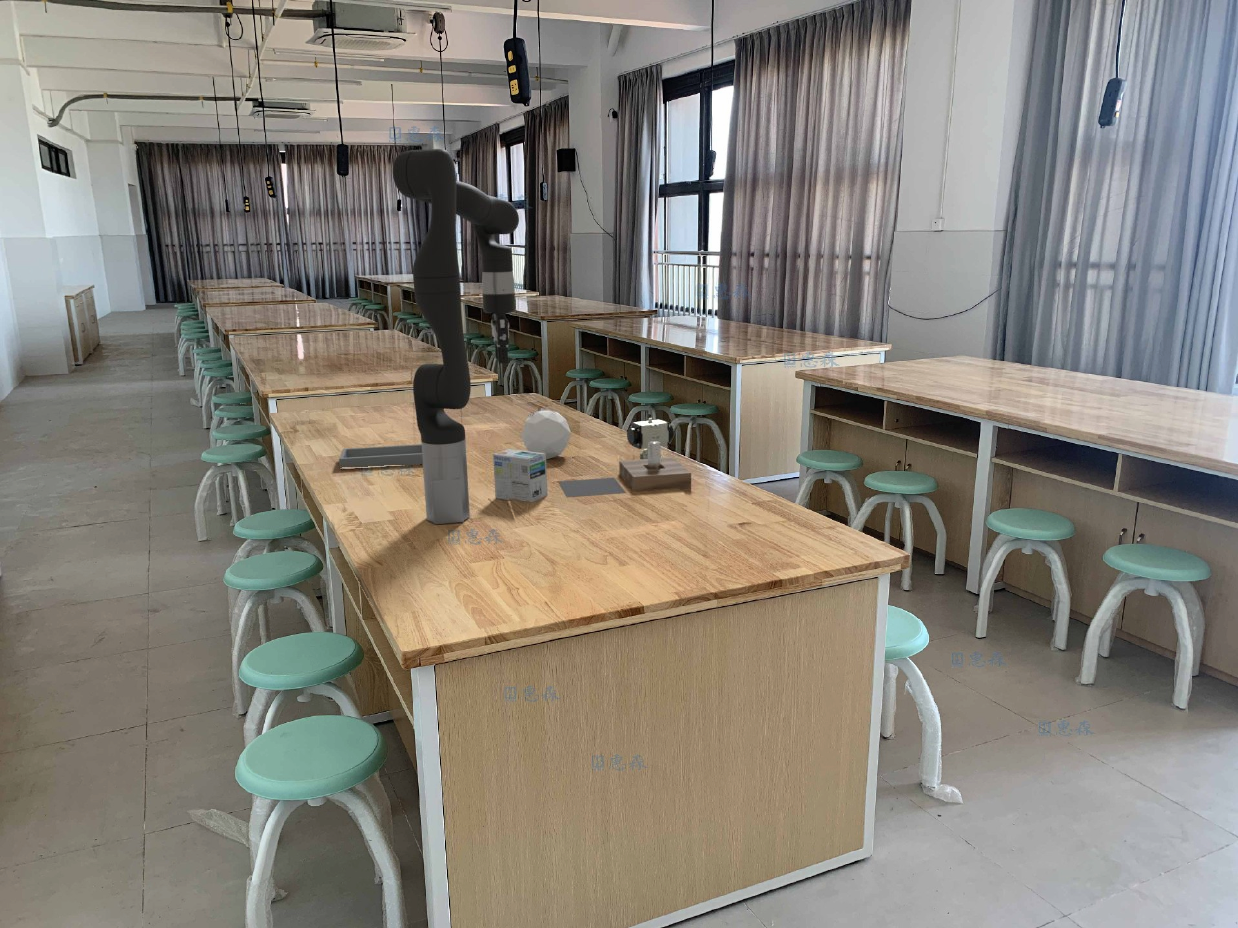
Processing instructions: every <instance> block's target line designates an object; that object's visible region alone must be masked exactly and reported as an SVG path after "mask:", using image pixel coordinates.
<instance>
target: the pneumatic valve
mask: <svg viewBox="0 0 1238 928" xmlns="http://www.w3.org/2000/svg"><path fill="white" fill-rule="evenodd" d="M630 423H631V426H630V427H629V428H628V429H627V431H626V437H627V439H626V440H627V441H628V444H629V445H631V446H632V447H634V448H636V449H638V450H641V453H640V454H639V459H648V442H652V441H657V442H660V447H666V446H668V447H669V446H670V443H671V440H673V439H674V434H675V433H674V428H673V425H672V424H671V423H670V422H669V421H667V420H664V419H653V418H652V417H649V418H648V420H646V421H645V420H643V421H636V422H630ZM660 458H662V454H661V452H660Z"/></svg>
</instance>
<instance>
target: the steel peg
mask: <svg viewBox="0 0 1238 928" xmlns="http://www.w3.org/2000/svg"><path fill="white" fill-rule="evenodd" d="M660 453H661V446H660V442H657V441H652V442H648V470H649V469H660Z"/></svg>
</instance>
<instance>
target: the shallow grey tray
mask: <svg viewBox="0 0 1238 928" xmlns="http://www.w3.org/2000/svg"><path fill="white" fill-rule="evenodd" d="M338 460H339V469H340V468H342V467H368V466H384V465H413V466H421V465H420V464H423V459H422V444H421V443H419V444H416V443H415V444H403V445H401V444H400V445H388V446H387V445H386V446H368V447H367V446H366V447H351V448H350V447H348V448H342V450H341V453H340V456H339V457H338Z"/></svg>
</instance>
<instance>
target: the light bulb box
mask: <svg viewBox="0 0 1238 928" xmlns="http://www.w3.org/2000/svg"><path fill="white" fill-rule="evenodd" d="M492 455H493V461H492V462H493V475H494V491H495V492H494V493H495V499H499V500H504V501H510V500H518V501H522V502H528V503H533V502H535V501H538V500H541V499H542V498H545V497H547V496H548V495H549V494H548V491H549V490H548V472H547V459H546V453H539V452H530V451H528V450H521V449H513V448H508V449H506V450H501V451H498V452H495V453H493V454H492Z"/></svg>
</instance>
